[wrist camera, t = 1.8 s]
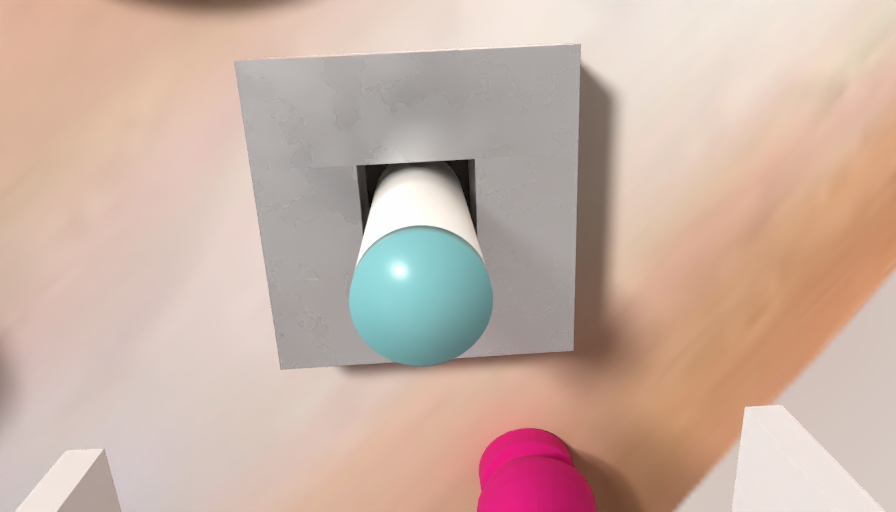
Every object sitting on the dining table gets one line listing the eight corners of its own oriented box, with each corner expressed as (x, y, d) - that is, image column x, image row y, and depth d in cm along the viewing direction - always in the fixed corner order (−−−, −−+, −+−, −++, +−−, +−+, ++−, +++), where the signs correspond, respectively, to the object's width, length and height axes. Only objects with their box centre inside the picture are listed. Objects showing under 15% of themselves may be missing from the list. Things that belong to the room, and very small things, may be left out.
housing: (295, 332, 38) (280, 369, 34) (257, 57, 33) (234, 61, 29) (556, 316, 39) (573, 350, 35) (559, 42, 34) (580, 44, 29)
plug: (378, 241, 37) (355, 370, 23) (371, 156, 35) (342, 238, 21) (464, 236, 37) (494, 361, 23) (460, 151, 35) (491, 229, 21)
